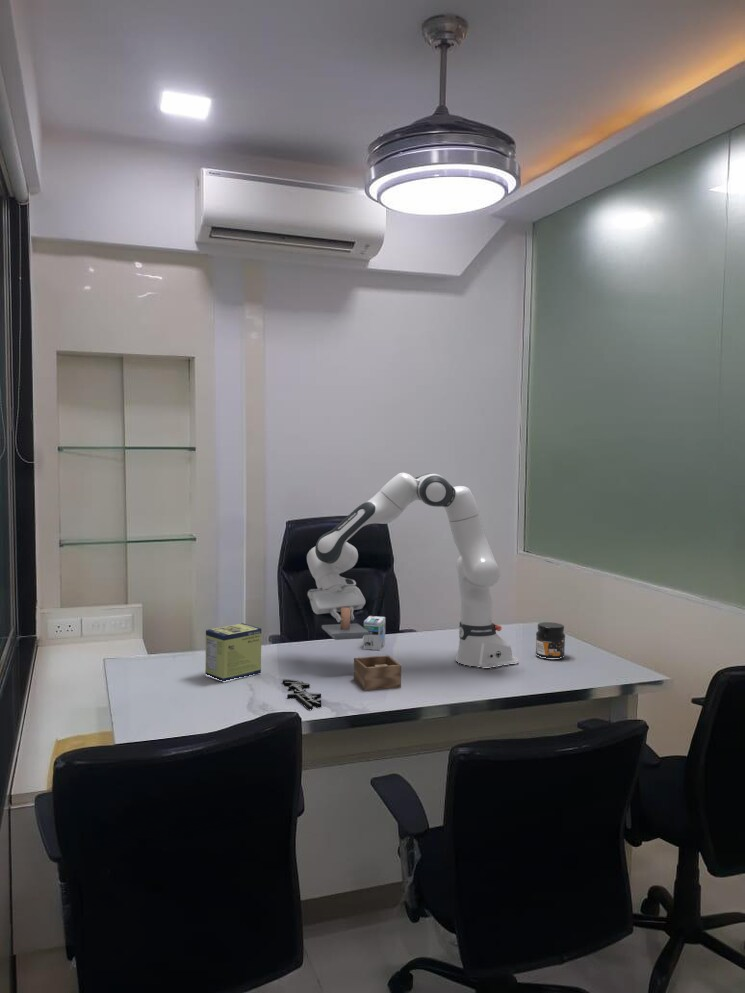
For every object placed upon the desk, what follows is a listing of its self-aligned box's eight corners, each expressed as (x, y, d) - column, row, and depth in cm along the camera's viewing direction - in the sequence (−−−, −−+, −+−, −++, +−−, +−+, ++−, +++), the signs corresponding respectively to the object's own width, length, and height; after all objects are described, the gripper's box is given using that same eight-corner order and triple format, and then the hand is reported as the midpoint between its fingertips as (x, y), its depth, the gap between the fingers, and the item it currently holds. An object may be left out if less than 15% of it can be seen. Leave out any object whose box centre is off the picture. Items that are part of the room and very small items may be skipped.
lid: (357, 630, 266) (358, 603, 265) (369, 639, 253) (369, 611, 253) (321, 632, 262) (322, 605, 261) (331, 641, 249) (332, 612, 249)
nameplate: (271, 681, 241) (300, 677, 245) (271, 685, 241) (300, 681, 245) (302, 707, 216) (334, 702, 220) (302, 712, 216) (334, 708, 221)
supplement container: (535, 659, 275) (535, 627, 274) (535, 652, 285) (536, 620, 285) (564, 661, 273) (565, 629, 272) (564, 654, 283) (565, 622, 282)
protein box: (261, 673, 252) (262, 627, 251) (223, 683, 241) (223, 635, 240) (242, 667, 259) (243, 622, 258) (204, 676, 248) (204, 629, 247)
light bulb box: (380, 650, 284) (380, 622, 283) (362, 649, 285) (363, 621, 285) (385, 643, 294) (386, 616, 294) (368, 642, 296) (369, 615, 295)
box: (388, 676, 251) (388, 655, 251) (400, 687, 240) (401, 665, 240) (353, 679, 248) (354, 658, 247) (364, 690, 236) (365, 668, 236)
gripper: (309, 584, 256) (324, 618, 249) (358, 579, 268) (374, 612, 261) (302, 595, 260) (316, 629, 252) (351, 590, 272) (366, 622, 265)
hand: (346, 620), depth 257 cm, fingers closed on lid, 3 cm apart
